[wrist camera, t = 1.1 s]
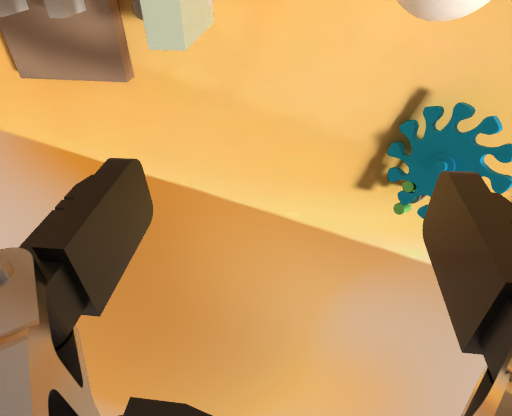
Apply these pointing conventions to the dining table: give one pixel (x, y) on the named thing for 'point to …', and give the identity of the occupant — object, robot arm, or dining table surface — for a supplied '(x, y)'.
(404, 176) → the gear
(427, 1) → the lightbulb
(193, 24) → the door
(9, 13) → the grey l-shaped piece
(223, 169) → the dining table surface
